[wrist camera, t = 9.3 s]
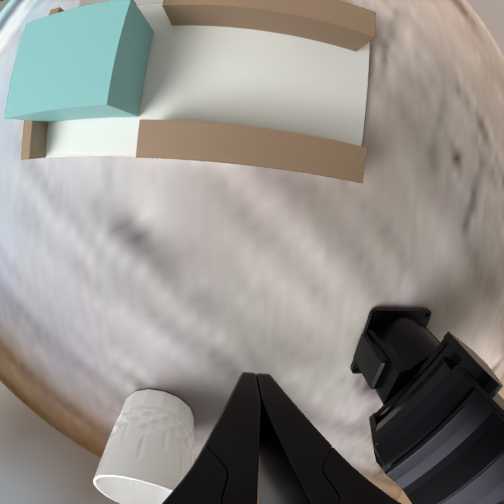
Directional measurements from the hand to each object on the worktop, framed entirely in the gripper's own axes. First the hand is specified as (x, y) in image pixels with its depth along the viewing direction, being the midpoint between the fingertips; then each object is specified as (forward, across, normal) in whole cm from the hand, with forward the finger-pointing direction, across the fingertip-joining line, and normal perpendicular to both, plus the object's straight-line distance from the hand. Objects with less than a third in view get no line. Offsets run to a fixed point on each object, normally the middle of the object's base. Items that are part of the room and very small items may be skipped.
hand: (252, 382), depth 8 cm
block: (+11, +11, -11) cm, 19 cm away
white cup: (+12, +6, +17) cm, 21 cm away
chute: (+12, +5, -11) cm, 17 cm away
